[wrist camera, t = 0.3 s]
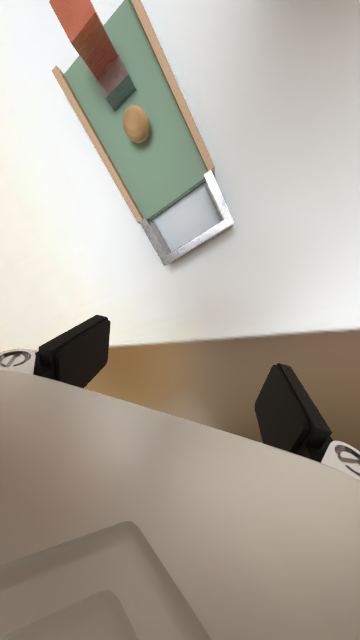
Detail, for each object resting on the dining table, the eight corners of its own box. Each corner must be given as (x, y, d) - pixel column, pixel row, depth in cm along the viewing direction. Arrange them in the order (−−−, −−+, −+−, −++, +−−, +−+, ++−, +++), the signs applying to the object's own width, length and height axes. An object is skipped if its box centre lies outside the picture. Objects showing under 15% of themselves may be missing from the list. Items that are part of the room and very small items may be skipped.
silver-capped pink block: (86, 58, 29) (42, -8, 22) (108, 32, 28) (68, -48, 20) (114, 111, 31) (82, 67, 23) (136, 89, 29) (109, 35, 22)
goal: (149, 225, 37) (139, 221, 33) (211, 180, 33) (210, 169, 28) (170, 263, 39) (164, 265, 34) (232, 225, 35) (234, 222, 30)
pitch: (67, 88, 32) (51, 71, 29) (138, 4, 27) (128, -27, 24) (144, 225, 37) (137, 222, 34) (214, 174, 33) (214, 166, 30)
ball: (130, 114, 30) (118, 96, 27) (154, 117, 30) (146, 99, 26) (128, 146, 32) (117, 132, 28) (151, 149, 32) (143, 136, 28)
